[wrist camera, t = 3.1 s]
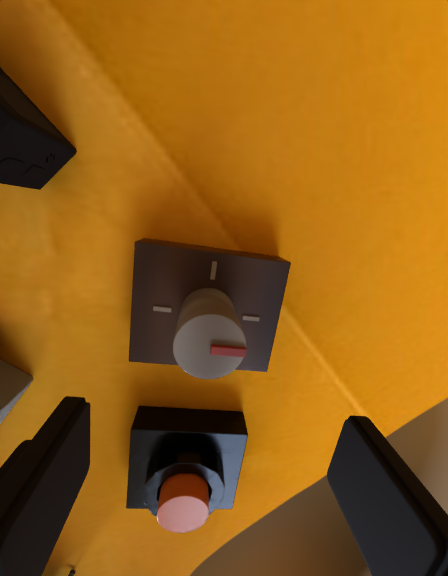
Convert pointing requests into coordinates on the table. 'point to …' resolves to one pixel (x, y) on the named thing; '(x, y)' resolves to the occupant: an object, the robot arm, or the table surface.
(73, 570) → the alarm clock
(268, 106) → the table surface
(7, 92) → the digital camera
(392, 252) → the table surface
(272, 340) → the dial panel
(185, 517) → the button
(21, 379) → the digital clock
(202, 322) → the dial
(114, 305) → the table surface
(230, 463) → the button box
